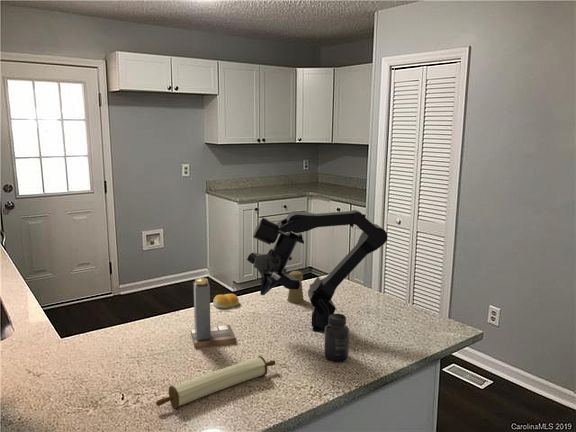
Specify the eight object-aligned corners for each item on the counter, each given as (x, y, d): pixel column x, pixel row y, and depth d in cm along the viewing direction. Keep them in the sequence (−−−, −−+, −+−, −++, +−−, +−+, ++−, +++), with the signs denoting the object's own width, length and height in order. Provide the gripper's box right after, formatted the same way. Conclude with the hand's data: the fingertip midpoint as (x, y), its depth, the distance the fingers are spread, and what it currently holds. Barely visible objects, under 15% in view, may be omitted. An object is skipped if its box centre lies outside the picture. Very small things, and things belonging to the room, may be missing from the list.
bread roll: (242, 306, 168) (242, 295, 167) (218, 310, 163) (217, 299, 163) (233, 298, 175) (233, 288, 174) (210, 302, 171) (210, 292, 170)
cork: (303, 303, 170) (304, 274, 168) (287, 303, 170) (287, 274, 168) (303, 297, 176) (304, 269, 174) (287, 297, 176) (287, 269, 174)
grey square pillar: (206, 326, 145) (205, 273, 142) (210, 338, 137) (209, 282, 134) (193, 328, 144) (192, 274, 140) (196, 340, 136) (195, 283, 132)
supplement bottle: (350, 353, 133) (352, 313, 131) (345, 365, 127) (347, 323, 125) (327, 349, 135) (328, 310, 133) (321, 360, 129) (322, 319, 127)
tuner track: (229, 328, 148) (229, 324, 148) (235, 342, 139) (235, 337, 139) (190, 333, 145) (190, 328, 144) (194, 347, 135) (194, 342, 135)
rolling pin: (268, 366, 126) (269, 349, 125) (281, 375, 122) (281, 357, 121) (152, 407, 107) (151, 386, 106) (161, 419, 103) (160, 398, 102)
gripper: (246, 233, 143) (225, 279, 145) (289, 262, 132) (266, 311, 134) (268, 238, 152) (248, 280, 154) (310, 265, 141) (288, 310, 143)
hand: (262, 294), depth 146 cm, fingers closed
